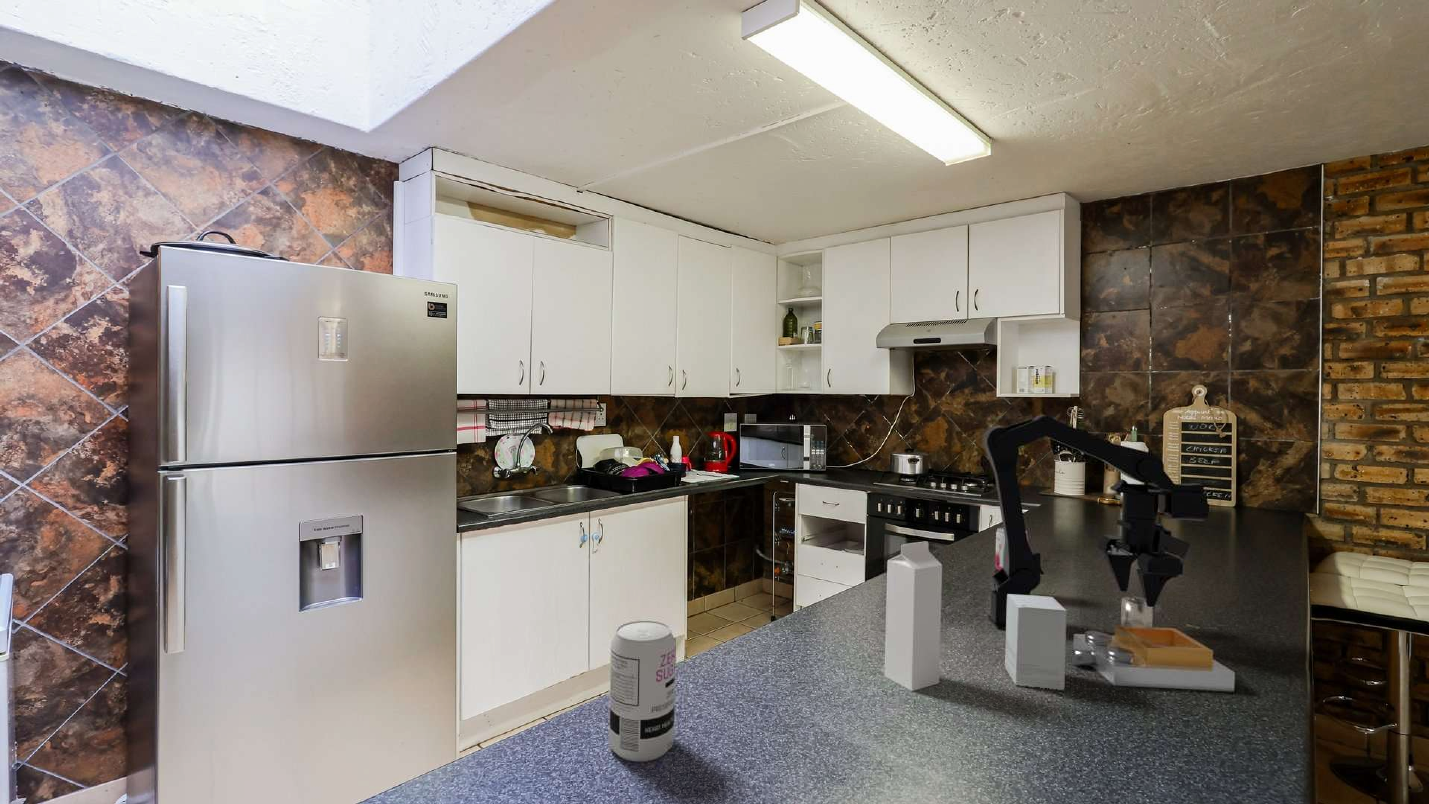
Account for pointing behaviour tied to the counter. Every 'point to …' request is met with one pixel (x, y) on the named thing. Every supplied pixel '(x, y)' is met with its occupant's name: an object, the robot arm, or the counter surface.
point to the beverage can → (1000, 549)
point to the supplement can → (642, 690)
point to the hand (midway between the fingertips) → (1136, 598)
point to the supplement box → (1035, 641)
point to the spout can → (1137, 612)
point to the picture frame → (1152, 659)
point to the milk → (913, 617)
